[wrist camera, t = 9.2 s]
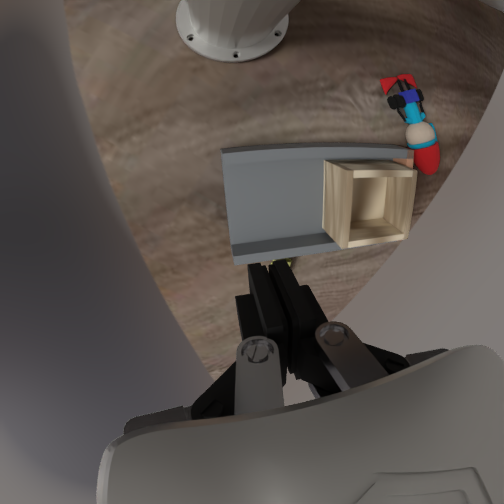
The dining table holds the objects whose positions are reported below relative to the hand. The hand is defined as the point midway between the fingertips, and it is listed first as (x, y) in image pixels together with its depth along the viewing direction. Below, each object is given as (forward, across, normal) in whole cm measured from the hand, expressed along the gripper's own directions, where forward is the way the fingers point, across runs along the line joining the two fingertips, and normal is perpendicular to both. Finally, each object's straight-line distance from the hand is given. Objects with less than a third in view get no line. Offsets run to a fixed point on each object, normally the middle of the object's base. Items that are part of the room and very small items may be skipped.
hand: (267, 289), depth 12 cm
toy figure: (+23, -26, -7) cm, 35 cm away
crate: (+21, -16, +3) cm, 27 cm away
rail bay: (+22, -12, +3) cm, 25 cm away
